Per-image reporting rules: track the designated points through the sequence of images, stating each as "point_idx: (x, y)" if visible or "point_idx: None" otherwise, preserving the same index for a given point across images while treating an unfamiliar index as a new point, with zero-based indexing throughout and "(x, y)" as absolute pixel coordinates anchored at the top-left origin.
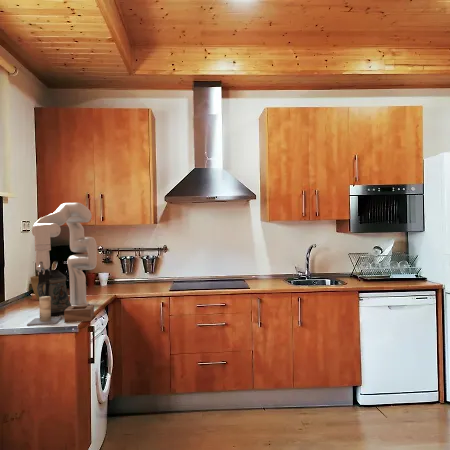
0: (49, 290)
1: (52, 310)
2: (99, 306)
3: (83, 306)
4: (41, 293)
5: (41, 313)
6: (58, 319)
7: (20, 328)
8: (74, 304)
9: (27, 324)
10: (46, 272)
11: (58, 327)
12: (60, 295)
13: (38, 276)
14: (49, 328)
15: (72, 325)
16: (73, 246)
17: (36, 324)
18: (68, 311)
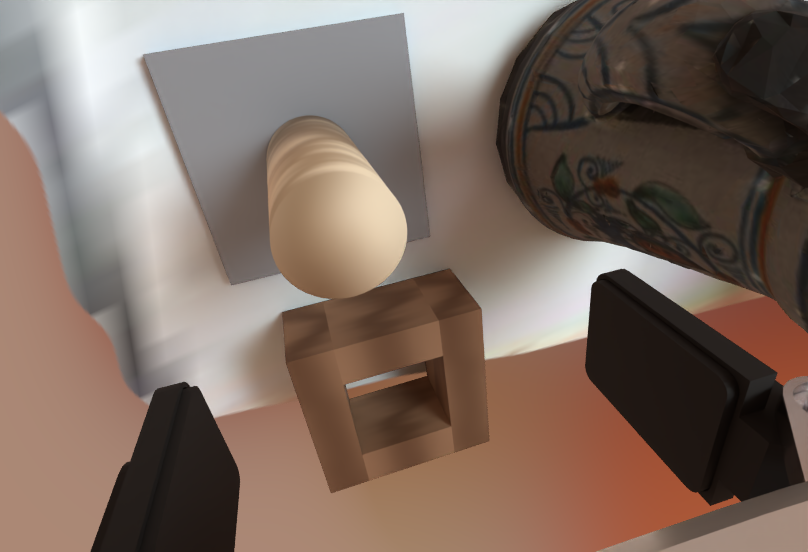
0: (691, 143)
1: (514, 144)
2: (721, 304)
3: (448, 407)
4: (589, 78)
5: (269, 166)
6: None
7: (22, 35)
8: None
9: (145, 58)
10: (699, 443)
11: (123, 344)
12: (631, 236)
13: (112, 520)
14: (79, 300)
15: None
16: None
17: (177, 141)
18: (294, 384)
